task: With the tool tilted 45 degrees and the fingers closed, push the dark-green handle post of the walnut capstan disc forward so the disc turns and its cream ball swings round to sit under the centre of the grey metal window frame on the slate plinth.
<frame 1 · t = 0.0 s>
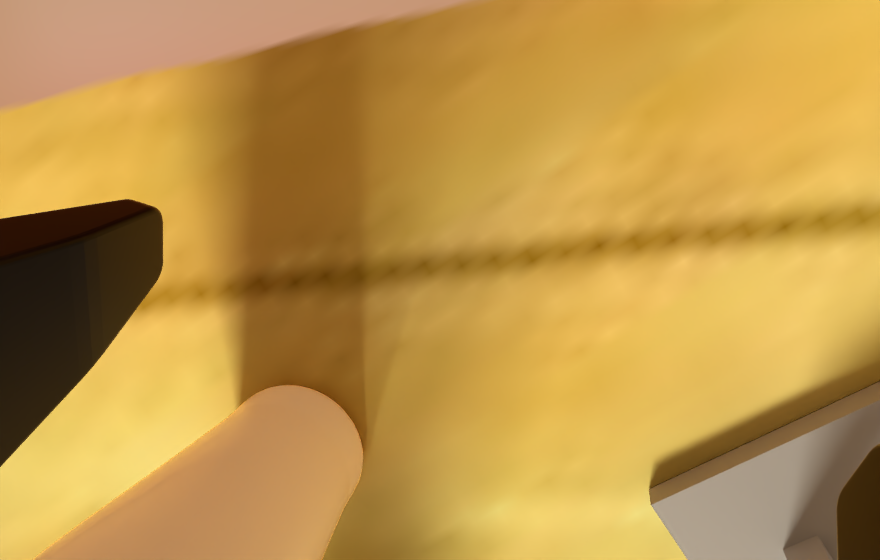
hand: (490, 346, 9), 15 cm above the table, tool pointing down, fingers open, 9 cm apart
drinking glass: (303, 440, 28), on the table
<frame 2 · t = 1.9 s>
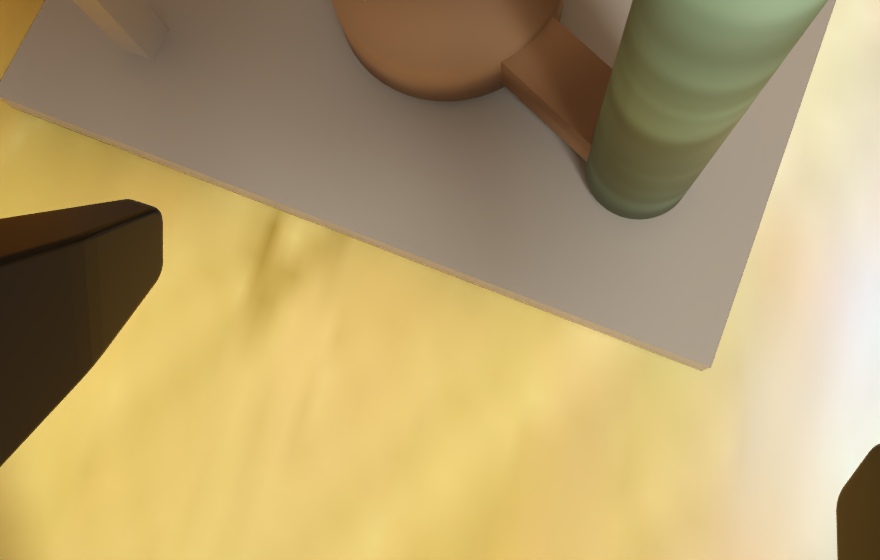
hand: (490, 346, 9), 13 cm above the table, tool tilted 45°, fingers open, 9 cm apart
stand: (453, 21, 24), on the table
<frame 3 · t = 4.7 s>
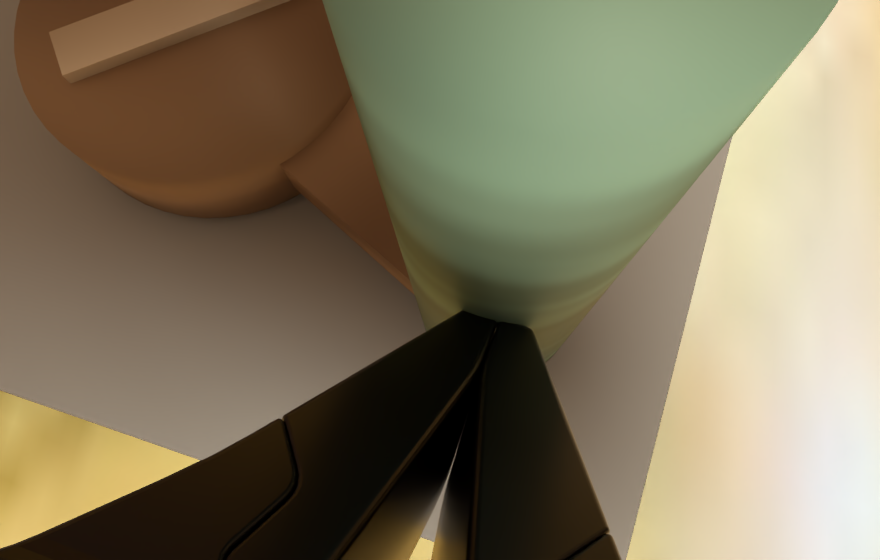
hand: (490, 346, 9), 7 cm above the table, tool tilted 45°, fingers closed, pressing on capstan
stand: (242, 96, 17), on the table
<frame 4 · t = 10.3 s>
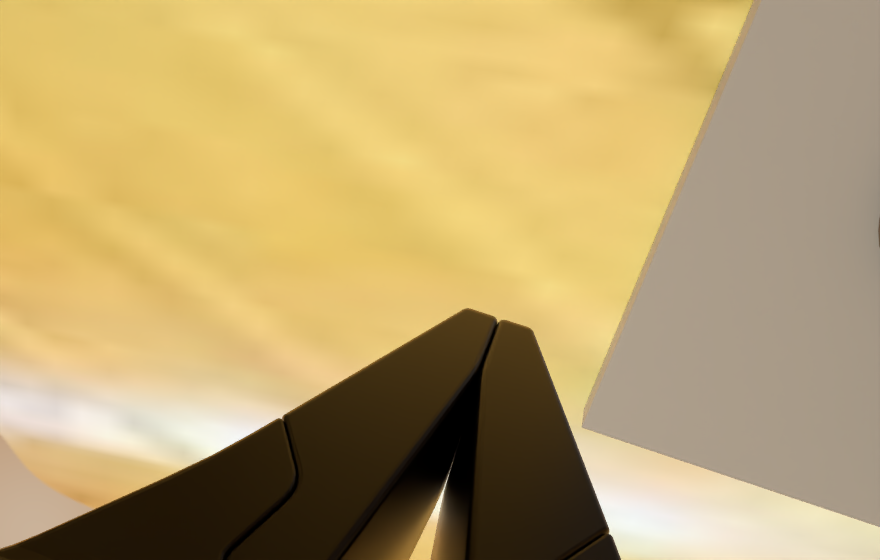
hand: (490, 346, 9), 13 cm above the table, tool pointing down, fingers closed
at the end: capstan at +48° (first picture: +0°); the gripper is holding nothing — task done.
